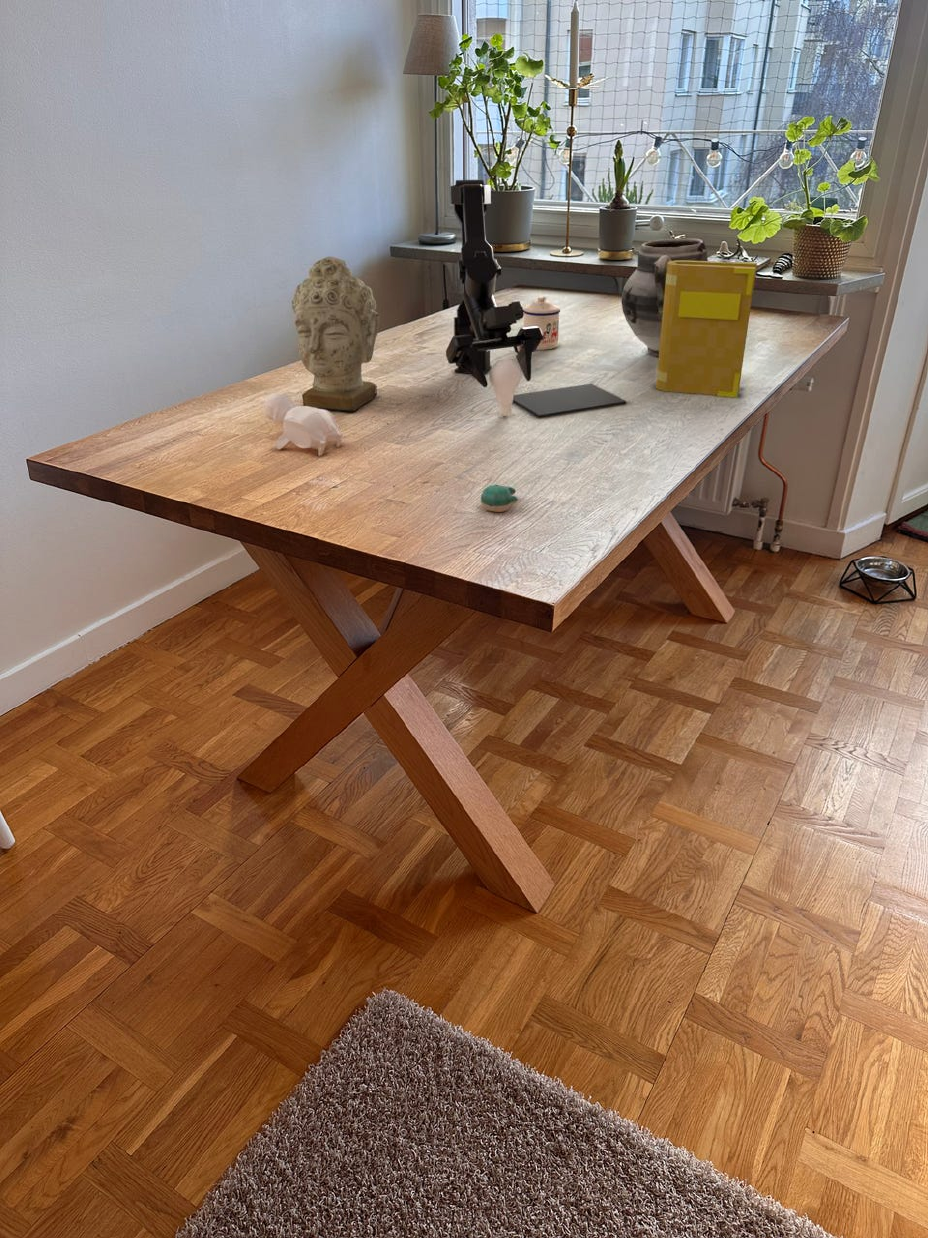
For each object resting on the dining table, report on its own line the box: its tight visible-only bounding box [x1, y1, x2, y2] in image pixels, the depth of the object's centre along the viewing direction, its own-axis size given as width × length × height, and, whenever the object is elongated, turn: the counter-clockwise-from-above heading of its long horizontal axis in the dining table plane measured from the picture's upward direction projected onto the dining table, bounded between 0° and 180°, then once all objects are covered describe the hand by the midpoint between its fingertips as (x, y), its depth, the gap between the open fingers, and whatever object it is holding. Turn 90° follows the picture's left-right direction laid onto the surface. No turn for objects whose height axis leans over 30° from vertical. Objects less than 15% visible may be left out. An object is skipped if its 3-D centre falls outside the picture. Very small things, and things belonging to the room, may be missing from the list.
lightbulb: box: [488, 358, 522, 417], centre depth 173 cm, size 6×6×11 cm
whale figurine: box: [480, 484, 518, 513], centre depth 138 cm, size 6×7×4 cm
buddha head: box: [291, 256, 380, 413], centre depth 179 cm, size 17×19×28 cm
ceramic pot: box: [620, 237, 709, 357], centre depth 208 cm, size 29×23×25 cm
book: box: [655, 260, 758, 398], centre depth 182 cm, size 17×7×25 cm, turn 71°
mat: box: [513, 383, 627, 418], centre depth 183 cm, size 14×20×1 cm
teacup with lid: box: [522, 295, 561, 351], centre depth 220 cm, size 12×9×12 cm
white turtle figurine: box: [263, 392, 344, 457], centre depth 162 cm, size 9×8×15 cm
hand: (507, 383), depth 171 cm, fingers open, 9 cm apart
